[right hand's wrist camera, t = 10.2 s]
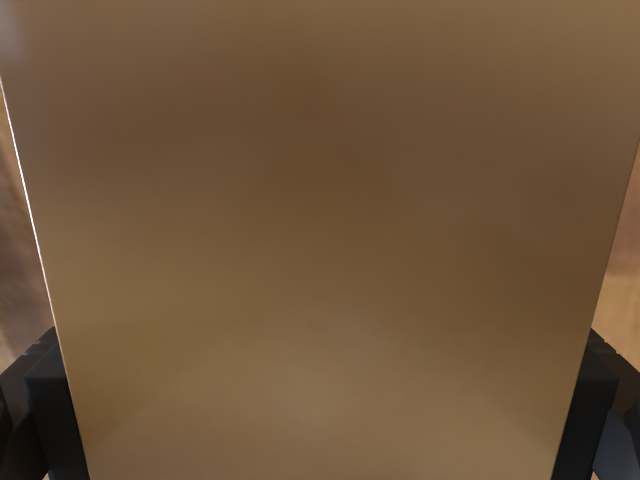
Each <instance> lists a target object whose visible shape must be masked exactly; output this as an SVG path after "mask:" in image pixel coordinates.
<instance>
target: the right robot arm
mask: <svg viewBox="0 0 640 480" xmlns="http://www.w3.org/2000/svg"><path fill="white" fill-rule="evenodd" d="M593 471H594V473H595V474H596V475H597V477H598V478H599V480H640V372H638V371H637V370H636V369H635V368H634V367H633V366H632V365H631V364H630V363H629V362H628V361H627V360H625V359H624V358H623V357H622V356H621V355H620V354H617V353H616V350H615V349H614V348H612V347H611V346H610V345H609V344H608V343H605V342H604V339H603V338H602V337H601V336H599V335H598V334H597V333H596V332H595V331H594V330H593V329H592V328H590V332H589V336H588V340H587V343H586V347H585V351H584V355H583V359H582V362H581V366H580V370H579V374H578V378H577V382H576V385H575V389H574V393H573V397H572V401H571V404H570V408H569V412H568V416H567V420H566V423H565V427H564V431H563V435H562V439H561V442H560V446H559V450H558V454H557V458H556V461H555V465H554V469H553V473H552V477H551V480H591V477H592V473H593ZM47 472H48V475H49V479H50V480H90V477H89V473H88V468H87V464H86V459H85V455H84V451H83V446H82V442H81V437H80V433H79V428H78V424H77V420H76V415H75V411H74V406H73V402H72V398H71V393H70V389H69V384H68V380H67V376H66V371H65V367H64V362H63V358H62V353H61V349H60V345H59V340H58V336H57V331H56V327H55V326H54V327H52V328H50V329H49V330H48V331H47V332H46V333H45V334H44V335H43V336H42V337H41V338H40V339H38V340H37V341H36V344H33V345H32V346H31V347H30V348H29V349H28V350H27V351H26V352H25V354H24V355H21V356H20V357H19V358H18V359H17V360H16V361H15V362H14V363H13V364H12V365H11V366H9V367H8V368H7V369H6V370H5V371H4V372H3V373H2V374H1V375H0V480H43V478H44V477H45V475H46V474H47Z"/></svg>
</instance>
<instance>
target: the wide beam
mask: <svg viewBox="0 0 640 480" xmlns="http://www.w3.org/2000/svg"><path fill="white" fill-rule="evenodd" d="M0 84H1V89H2V93H3V97H4V102H5V106H6V111H7V115H8V120H9V124H10V128H11V133H12V137H13V142H14V146H15V150H16V155H17V159H18V164H19V168H20V173H21V177H22V181H23V186H24V190H25V195H26V199H27V203H28V208H29V212H30V217H31V221H32V225H33V230H34V234H35V239H36V243H37V248H38V252H39V256H40V261H41V265H42V270H43V274H44V278H45V283H46V287H47V292H48V296H49V300H50V305H51V309H52V314H53V318H54V323H55V327H56V331H57V336H58V340H59V345H60V349H61V353H62V358H63V362H64V367H65V371H66V376H67V380H68V384H69V389H70V393H71V398H72V402H73V406H74V411H75V415H76V420H77V424H78V428H79V433H80V437H81V442H82V446H83V451H84V455H85V459H86V464H87V468H88V473H89V477H90V480H551V477H552V473H553V469H554V465H555V461H556V458H557V454H558V450H559V446H560V442H561V439H562V435H563V431H564V427H565V423H566V420H567V416H568V412H569V408H570V404H571V401H572V397H573V393H574V389H575V385H576V382H577V378H578V374H579V370H580V366H581V362H582V359H583V355H584V351H585V347H586V343H587V340H588V336H589V332H590V328H591V324H592V321H593V317H594V313H595V309H596V305H597V302H598V298H599V294H600V290H601V286H602V282H603V279H604V275H605V271H606V267H607V263H608V260H609V256H610V252H611V248H612V244H613V241H614V237H615V233H616V229H617V225H618V222H619V218H620V214H621V210H622V206H623V203H624V199H625V195H626V191H627V187H628V183H629V180H630V176H631V172H632V168H633V164H634V161H635V157H636V153H637V149H638V145H639V142H640V0H0Z"/></svg>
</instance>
